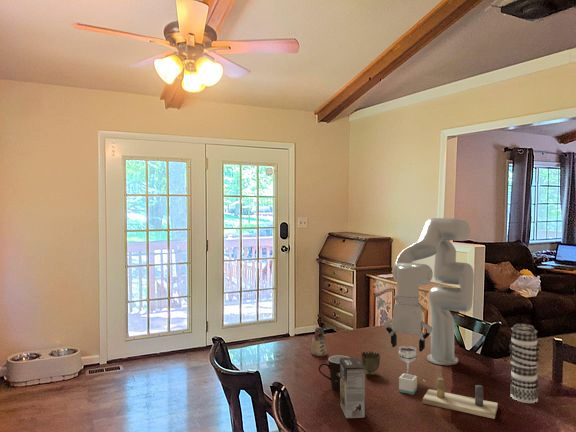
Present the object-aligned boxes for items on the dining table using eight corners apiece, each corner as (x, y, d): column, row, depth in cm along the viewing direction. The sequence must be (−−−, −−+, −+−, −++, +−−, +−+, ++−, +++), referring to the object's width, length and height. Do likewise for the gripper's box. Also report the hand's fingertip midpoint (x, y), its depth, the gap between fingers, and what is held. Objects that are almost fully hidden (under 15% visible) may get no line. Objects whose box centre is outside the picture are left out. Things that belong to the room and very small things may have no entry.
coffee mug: (354, 383, 164) (354, 356, 164) (349, 392, 156) (349, 364, 156) (323, 379, 168) (323, 353, 168) (318, 388, 160) (317, 361, 160)
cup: (380, 378, 169) (380, 357, 169) (360, 377, 170) (360, 356, 170) (380, 371, 176) (380, 351, 176) (361, 370, 178) (361, 350, 177)
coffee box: (339, 405, 146) (339, 357, 146) (358, 404, 147) (358, 356, 146) (345, 418, 137) (345, 367, 137) (365, 417, 138) (365, 366, 137)
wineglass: (404, 374, 172) (404, 344, 172) (420, 379, 168) (420, 348, 167) (395, 379, 168) (394, 348, 168) (411, 384, 163) (410, 352, 163)
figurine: (329, 352, 200) (329, 326, 199) (322, 357, 194) (322, 330, 193) (315, 350, 203) (315, 324, 203) (308, 354, 197) (308, 327, 197)
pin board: (429, 393, 155) (429, 372, 155) (497, 407, 144) (497, 384, 144) (422, 403, 148) (422, 380, 147) (494, 418, 136) (494, 394, 136)
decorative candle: (538, 406, 145) (539, 330, 144) (507, 399, 150) (507, 326, 149) (540, 395, 152) (540, 324, 152) (510, 390, 157) (510, 320, 157)
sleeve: (403, 386, 161) (403, 373, 161) (417, 389, 158) (417, 375, 158) (398, 391, 157) (398, 377, 157) (413, 394, 154) (413, 380, 154)
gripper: (380, 299, 158) (380, 347, 158) (429, 305, 149) (429, 355, 149) (387, 296, 165) (387, 342, 165) (435, 301, 156) (434, 349, 156)
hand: (407, 348), depth 157 cm, fingers open, 9 cm apart
